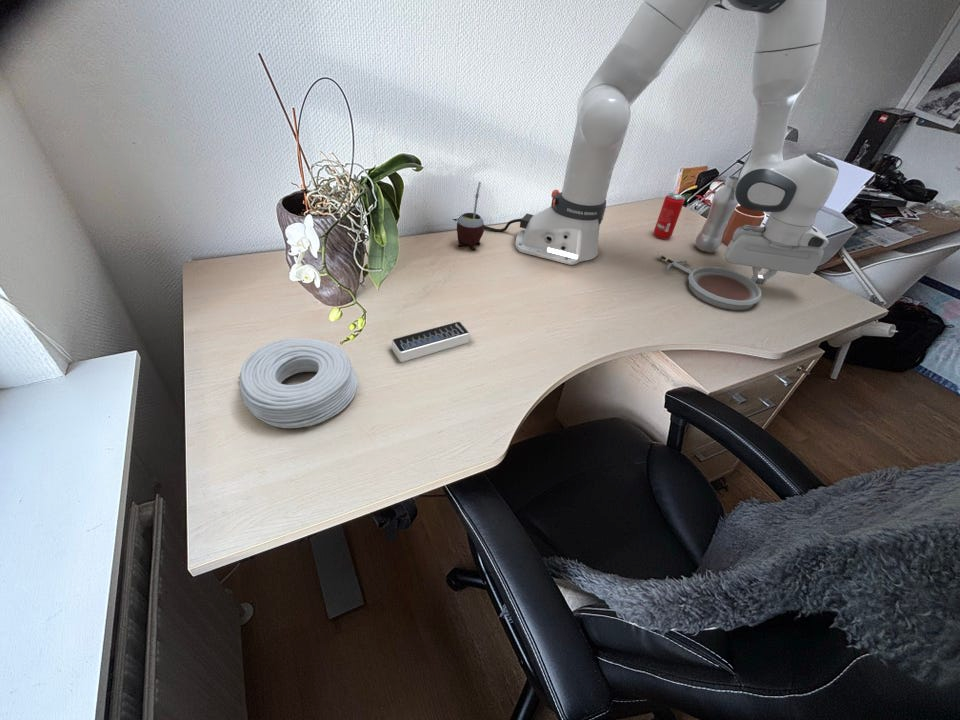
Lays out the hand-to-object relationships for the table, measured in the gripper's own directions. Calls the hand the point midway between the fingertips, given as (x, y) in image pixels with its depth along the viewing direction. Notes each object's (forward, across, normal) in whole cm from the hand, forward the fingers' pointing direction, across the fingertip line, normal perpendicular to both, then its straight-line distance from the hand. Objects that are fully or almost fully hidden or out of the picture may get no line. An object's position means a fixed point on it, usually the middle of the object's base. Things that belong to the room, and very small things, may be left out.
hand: (757, 282), depth 114 cm
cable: (+2, -88, -63) cm, 109 cm away
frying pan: (+2, -13, -1) cm, 13 cm away
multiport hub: (+2, -71, -45) cm, 84 cm away
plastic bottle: (+2, -9, +19) cm, 21 cm away
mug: (+2, 0, +29) cm, 29 cm away
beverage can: (+2, -20, +24) cm, 31 cm away
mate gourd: (+2, -73, -1) cm, 73 cm away
